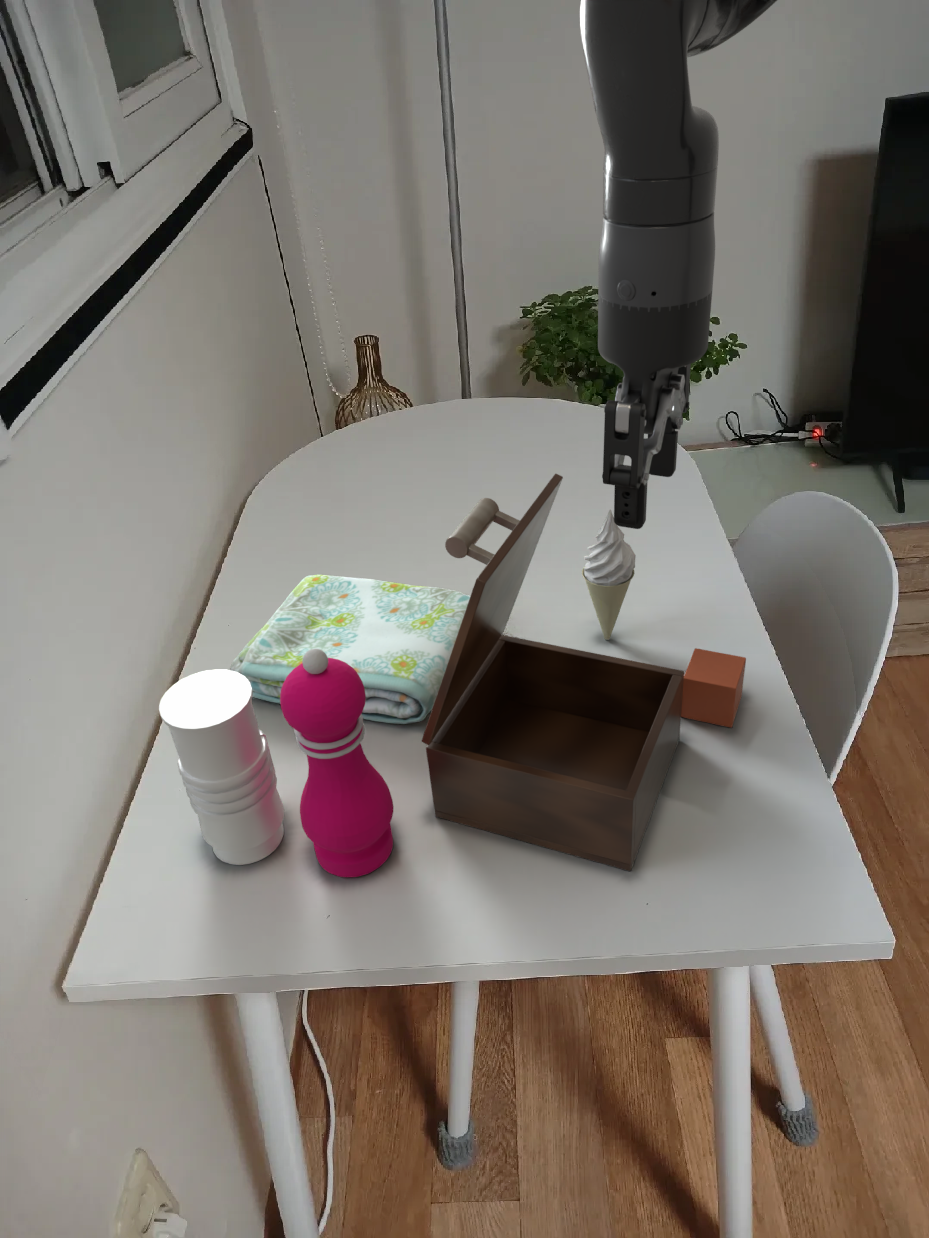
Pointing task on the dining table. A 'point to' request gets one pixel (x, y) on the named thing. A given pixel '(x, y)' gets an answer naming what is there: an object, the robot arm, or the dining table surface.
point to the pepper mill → (337, 767)
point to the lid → (488, 591)
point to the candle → (225, 764)
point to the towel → (361, 641)
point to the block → (713, 687)
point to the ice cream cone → (609, 573)
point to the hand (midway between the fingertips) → (645, 498)
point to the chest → (559, 749)
